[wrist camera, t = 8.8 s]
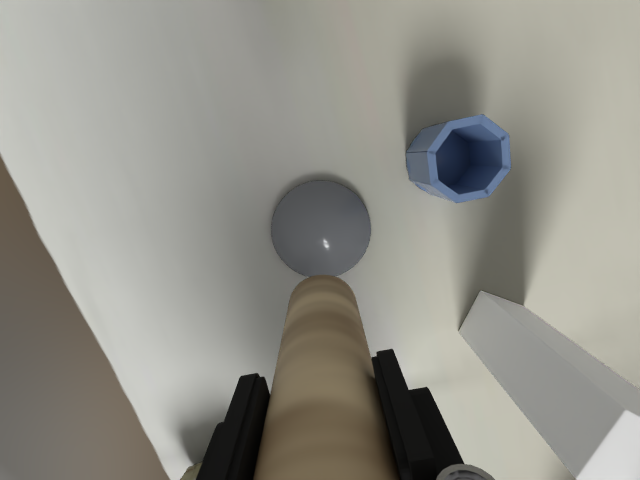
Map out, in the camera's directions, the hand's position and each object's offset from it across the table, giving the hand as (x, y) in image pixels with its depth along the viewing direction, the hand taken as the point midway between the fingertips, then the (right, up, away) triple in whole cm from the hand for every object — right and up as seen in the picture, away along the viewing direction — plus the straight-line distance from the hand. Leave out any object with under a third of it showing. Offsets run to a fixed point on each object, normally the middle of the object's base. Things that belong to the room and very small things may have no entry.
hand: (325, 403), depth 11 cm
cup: (+13, +14, +24) cm, 31 cm away
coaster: (0, +7, +26) cm, 27 cm away
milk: (+21, -4, +29) cm, 36 cm away
